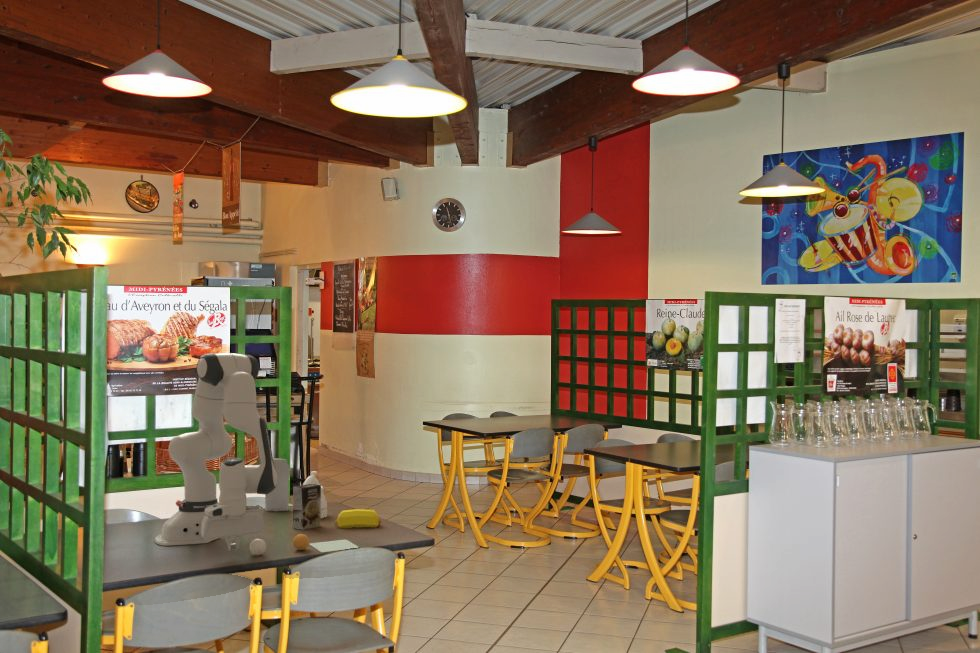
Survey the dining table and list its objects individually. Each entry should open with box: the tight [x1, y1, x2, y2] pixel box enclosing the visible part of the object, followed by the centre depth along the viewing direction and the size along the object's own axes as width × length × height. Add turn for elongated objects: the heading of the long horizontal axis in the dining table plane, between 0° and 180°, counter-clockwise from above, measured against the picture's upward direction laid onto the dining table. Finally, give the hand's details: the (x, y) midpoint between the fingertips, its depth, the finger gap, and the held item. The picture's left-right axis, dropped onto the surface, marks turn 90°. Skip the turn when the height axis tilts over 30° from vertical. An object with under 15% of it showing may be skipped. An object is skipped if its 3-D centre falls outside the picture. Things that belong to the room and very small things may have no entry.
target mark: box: [308, 539, 359, 554], centre depth 316 cm, size 14×14×1 cm
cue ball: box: [248, 538, 267, 556], centre depth 303 cm, size 6×6×6 cm
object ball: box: [292, 533, 310, 551], centre depth 311 cm, size 6×6×6 cm
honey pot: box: [302, 470, 328, 519], centre depth 367 cm, size 13×13×18 cm
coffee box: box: [292, 484, 322, 531], centre depth 347 cm, size 9×6×16 cm
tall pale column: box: [264, 457, 291, 512], centre depth 378 cm, size 11×4×22 cm, turn 96°
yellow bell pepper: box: [334, 508, 382, 529], centre depth 349 cm, size 18×7×8 cm
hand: (232, 549), depth 299 cm, fingers closed
